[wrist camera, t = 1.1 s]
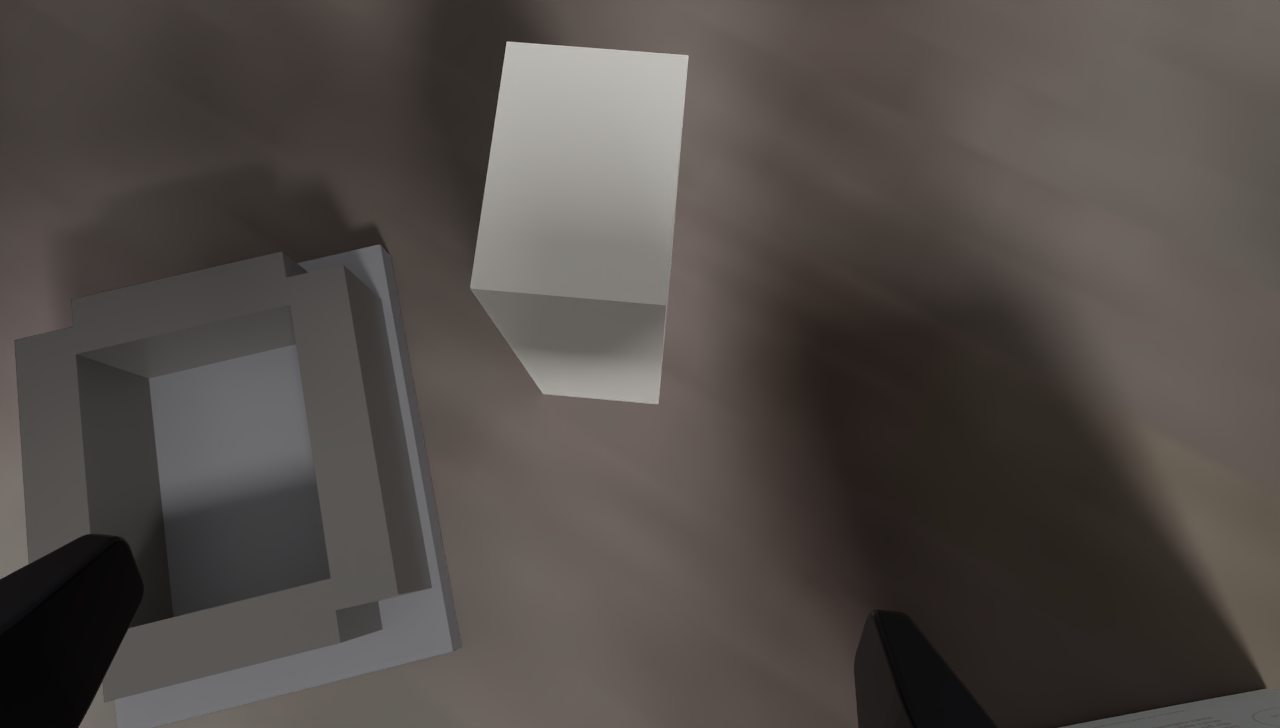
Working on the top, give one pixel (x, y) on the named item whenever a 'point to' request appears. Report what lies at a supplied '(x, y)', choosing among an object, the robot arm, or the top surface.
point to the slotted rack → (242, 477)
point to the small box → (1204, 714)
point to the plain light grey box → (583, 216)
